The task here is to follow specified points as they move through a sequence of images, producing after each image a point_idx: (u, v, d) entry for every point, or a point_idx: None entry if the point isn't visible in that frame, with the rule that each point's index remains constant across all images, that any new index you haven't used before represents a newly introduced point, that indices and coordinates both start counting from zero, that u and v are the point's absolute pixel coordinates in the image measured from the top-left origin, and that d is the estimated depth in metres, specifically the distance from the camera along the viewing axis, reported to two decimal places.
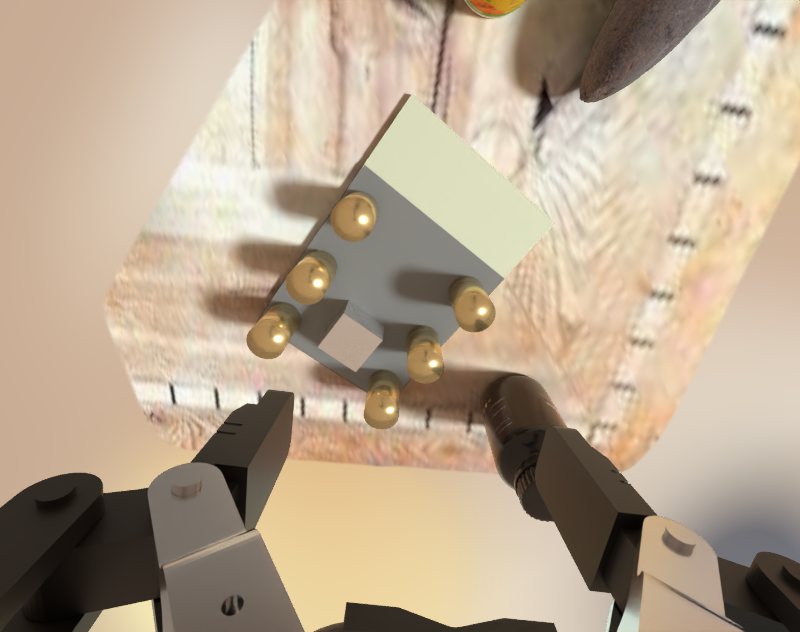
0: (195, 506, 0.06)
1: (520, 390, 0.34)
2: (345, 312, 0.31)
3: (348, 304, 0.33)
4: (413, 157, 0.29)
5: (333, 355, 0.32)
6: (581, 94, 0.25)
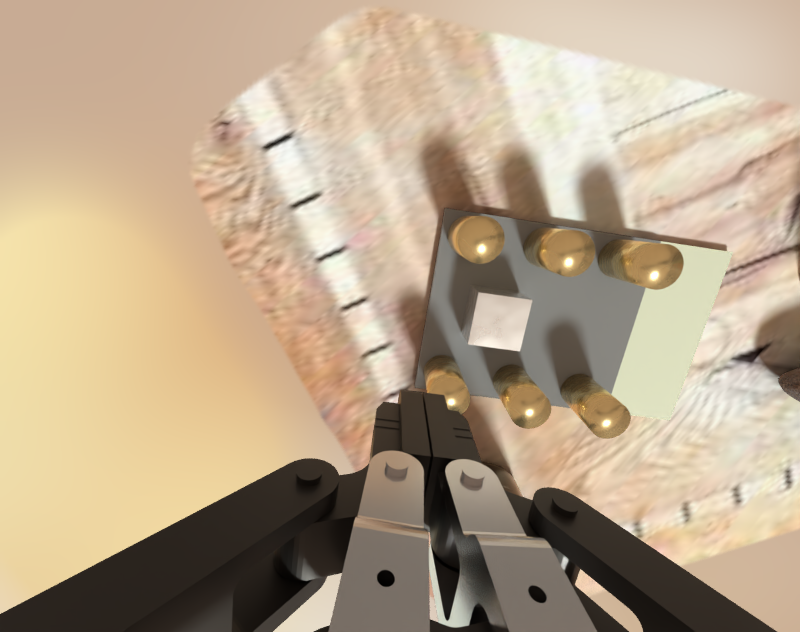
0: (395, 487, 0.08)
1: (521, 495, 0.32)
2: None
3: (522, 295, 0.29)
4: (681, 280, 0.30)
5: (477, 313, 0.27)
6: (790, 381, 0.30)
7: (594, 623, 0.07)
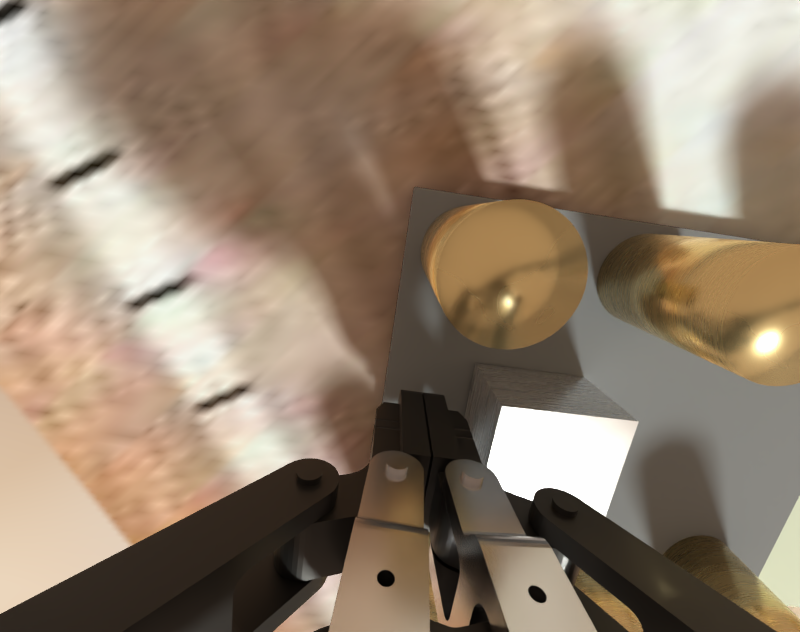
0: (395, 488, 0.07)
1: None
2: None
3: None
4: None
5: (497, 454, 0.11)
6: None
7: (594, 623, 0.07)
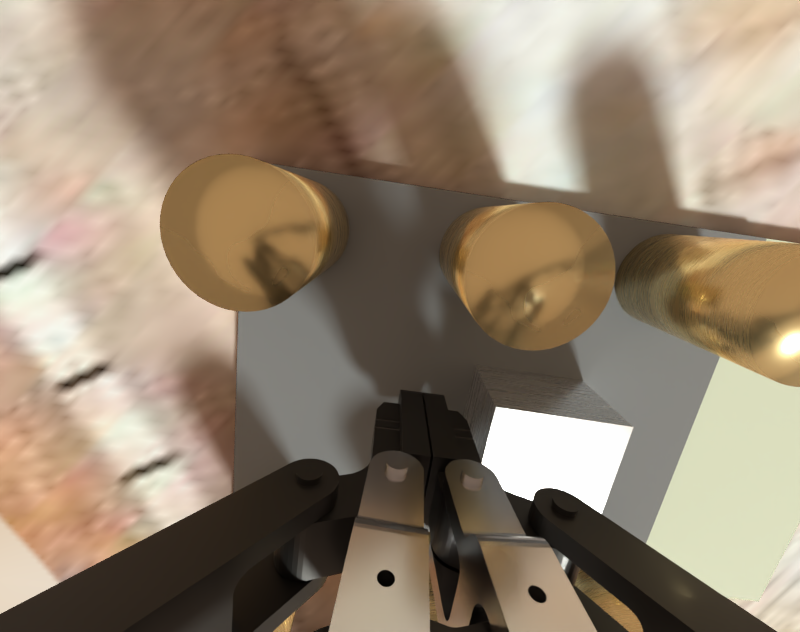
0: (395, 487, 0.08)
1: None
2: None
3: None
4: None
5: (490, 454, 0.11)
6: None
7: (594, 623, 0.07)
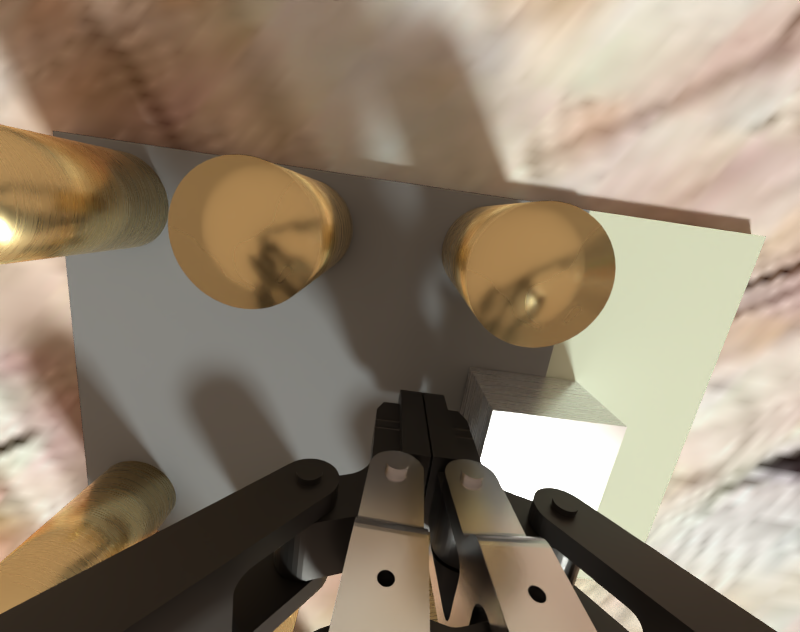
0: (395, 487, 0.08)
1: None
2: None
3: None
4: (643, 302, 0.13)
5: (488, 457, 0.11)
6: None
7: (594, 623, 0.07)
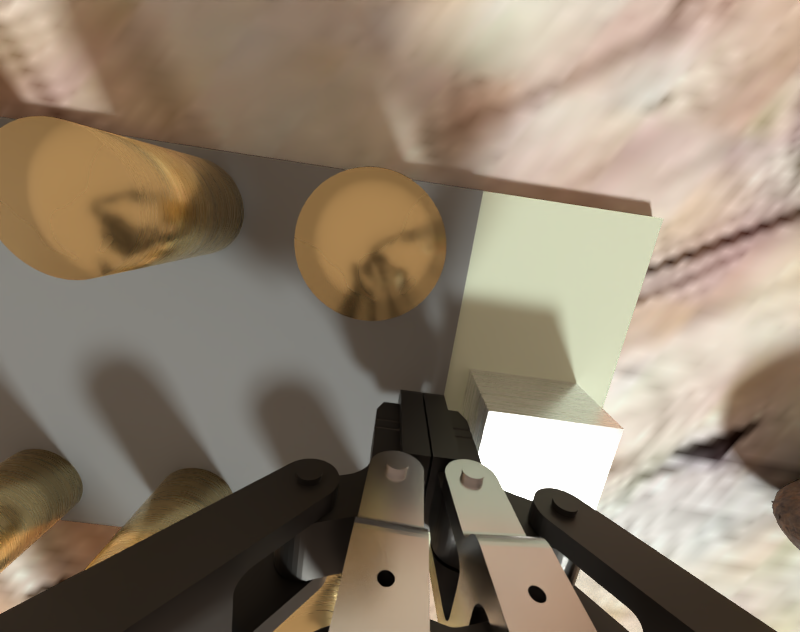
0: (395, 487, 0.08)
1: None
2: None
3: None
4: (545, 286, 0.13)
5: (484, 457, 0.11)
6: None
7: (594, 623, 0.07)
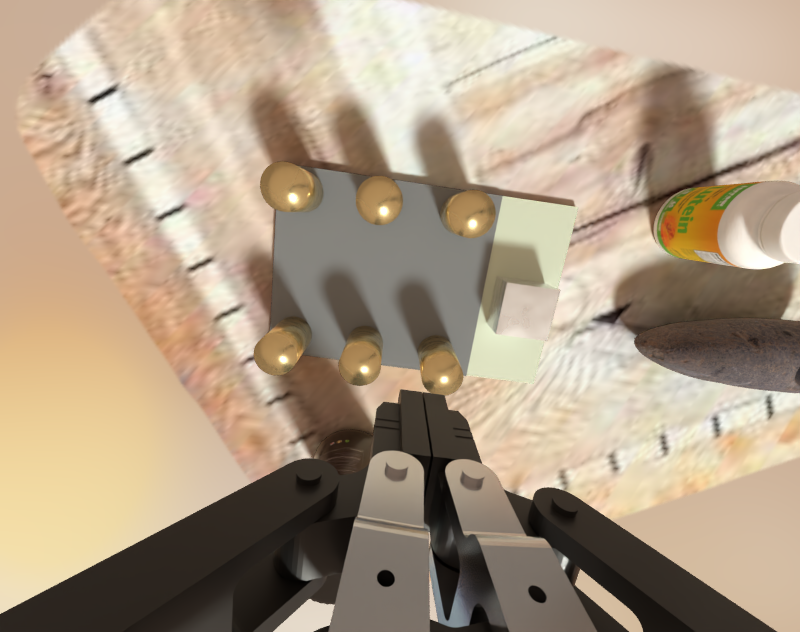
0: (395, 487, 0.08)
1: None
2: None
3: (548, 285, 0.29)
4: (529, 237, 0.29)
5: (505, 303, 0.28)
6: (640, 339, 0.29)
7: (594, 623, 0.07)
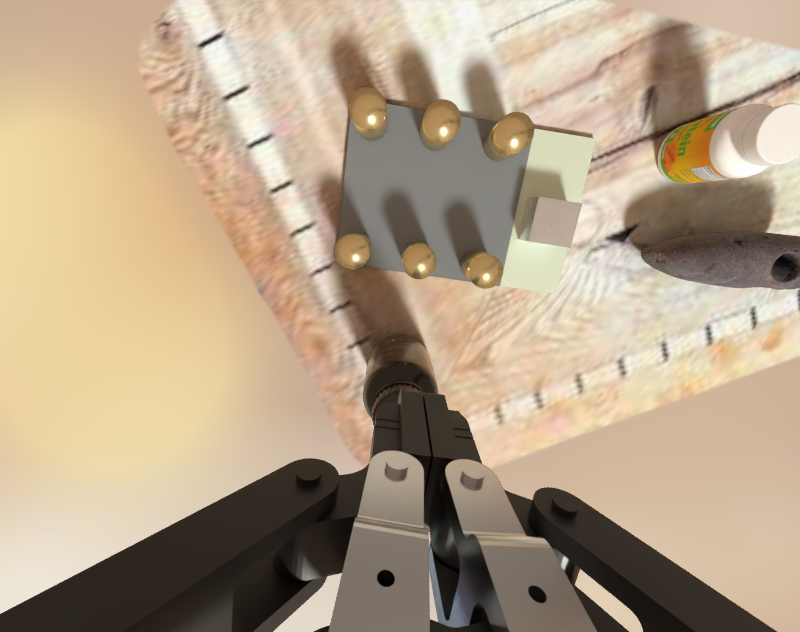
0: (395, 487, 0.08)
1: (426, 354, 0.38)
2: None
3: None
4: (555, 164, 0.35)
5: (537, 214, 0.34)
6: (646, 249, 0.36)
7: (594, 623, 0.07)
